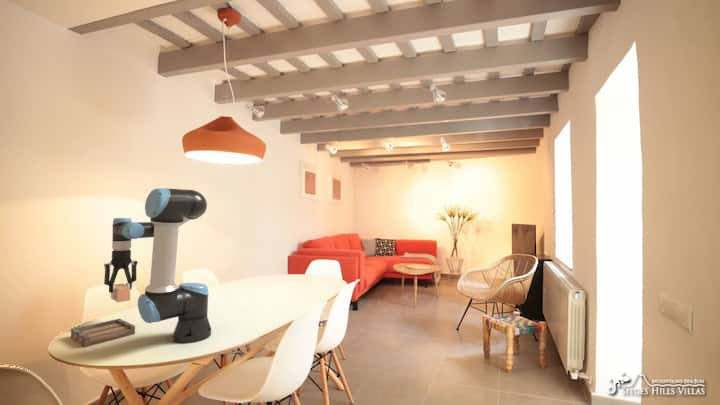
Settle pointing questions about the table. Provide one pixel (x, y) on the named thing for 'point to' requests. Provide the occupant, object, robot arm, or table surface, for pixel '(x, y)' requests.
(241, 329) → the table surface
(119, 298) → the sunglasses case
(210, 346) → the table surface
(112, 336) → the wooden tray
